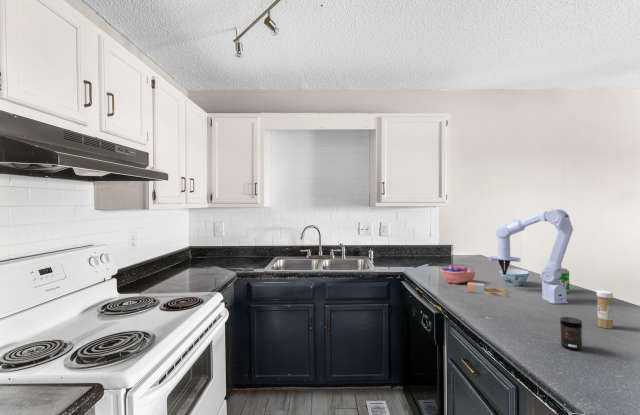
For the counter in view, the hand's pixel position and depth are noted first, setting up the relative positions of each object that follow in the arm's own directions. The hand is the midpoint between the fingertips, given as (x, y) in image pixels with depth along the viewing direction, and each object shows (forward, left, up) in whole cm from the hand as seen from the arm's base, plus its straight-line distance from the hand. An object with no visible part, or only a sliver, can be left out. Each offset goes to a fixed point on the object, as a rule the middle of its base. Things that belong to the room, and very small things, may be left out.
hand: (504, 274), depth 169 cm
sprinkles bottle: (-50, -7, -10) cm, 51 cm away
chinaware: (+14, -14, -10) cm, 22 cm away
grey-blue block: (-1, +14, -9) cm, 16 cm away
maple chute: (-2, +11, -9) cm, 15 cm away
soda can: (-3, -28, -10) cm, 30 cm away
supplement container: (-65, +19, -10) cm, 68 cm away
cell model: (+21, +16, -10) cm, 28 cm away
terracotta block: (+2, +17, -9) cm, 19 cm away
